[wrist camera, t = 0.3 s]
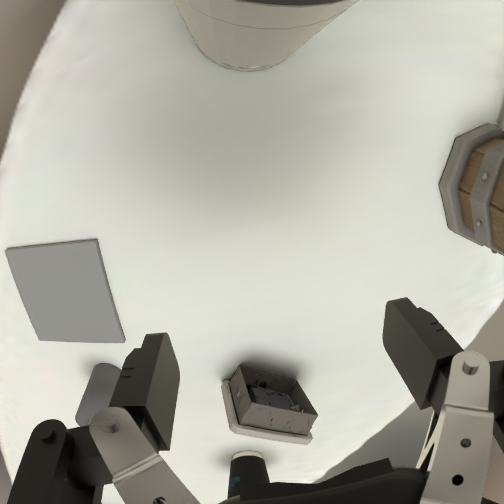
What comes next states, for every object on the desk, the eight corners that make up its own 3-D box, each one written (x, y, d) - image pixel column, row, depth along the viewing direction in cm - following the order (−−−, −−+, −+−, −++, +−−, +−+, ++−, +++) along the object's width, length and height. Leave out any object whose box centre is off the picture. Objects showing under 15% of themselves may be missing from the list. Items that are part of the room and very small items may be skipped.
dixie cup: (273, 464, 47) (280, 518, 37) (228, 469, 47) (229, 523, 37) (269, 443, 43) (277, 504, 33) (218, 448, 43) (218, 509, 33)
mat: (7, 248, 28) (4, 250, 27) (97, 239, 28) (95, 241, 28) (41, 337, 33) (39, 340, 32) (125, 339, 33) (124, 343, 33)
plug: (96, 358, 34) (70, 424, 25) (129, 371, 35) (110, 440, 26) (91, 378, 36) (68, 441, 26) (122, 391, 37) (105, 456, 27)
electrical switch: (219, 382, 37) (223, 442, 28) (236, 351, 35) (244, 411, 27) (287, 398, 39) (303, 453, 30) (307, 370, 38) (328, 425, 29)
